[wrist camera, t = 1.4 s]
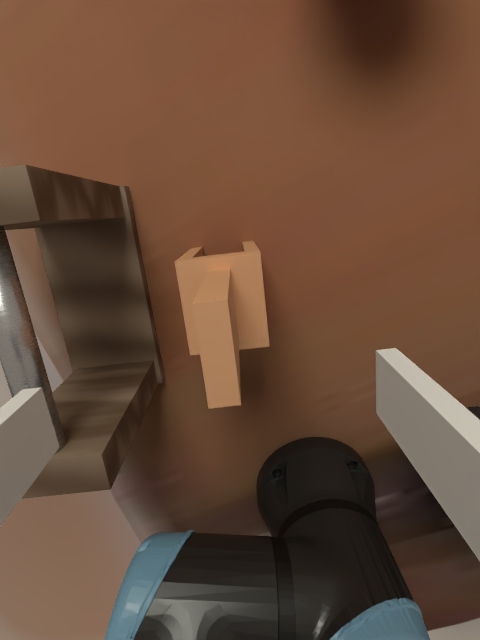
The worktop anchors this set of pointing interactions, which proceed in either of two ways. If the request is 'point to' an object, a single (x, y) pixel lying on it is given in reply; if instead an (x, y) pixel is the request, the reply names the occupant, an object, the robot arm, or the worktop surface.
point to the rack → (80, 321)
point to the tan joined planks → (223, 315)
